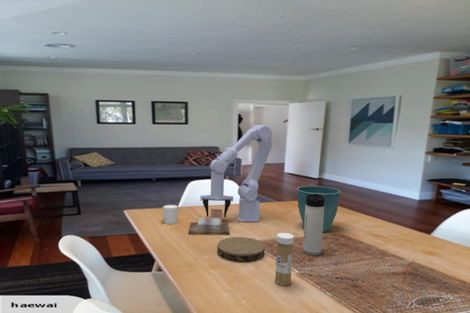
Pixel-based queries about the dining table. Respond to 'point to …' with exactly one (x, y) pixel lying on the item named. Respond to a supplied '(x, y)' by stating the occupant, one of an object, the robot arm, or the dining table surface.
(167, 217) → the grey cup
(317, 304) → the dining table surface
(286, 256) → the sprinkles bottle
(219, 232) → the walnut base
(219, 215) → the terracotta block
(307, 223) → the travel mug
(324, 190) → the flower pot
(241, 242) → the wood slice coaster
